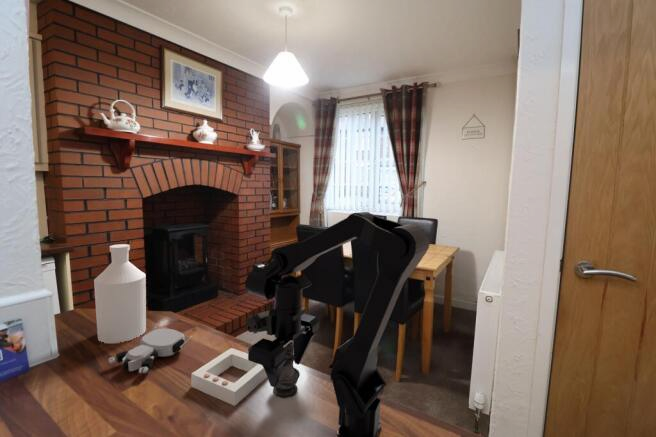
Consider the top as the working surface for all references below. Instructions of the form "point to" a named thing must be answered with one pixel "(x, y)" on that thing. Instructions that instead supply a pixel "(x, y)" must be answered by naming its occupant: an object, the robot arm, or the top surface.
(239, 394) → the socket block
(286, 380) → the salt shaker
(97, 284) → the bottle
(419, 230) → the robot arm
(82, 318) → the top surface
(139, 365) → the robot toy
